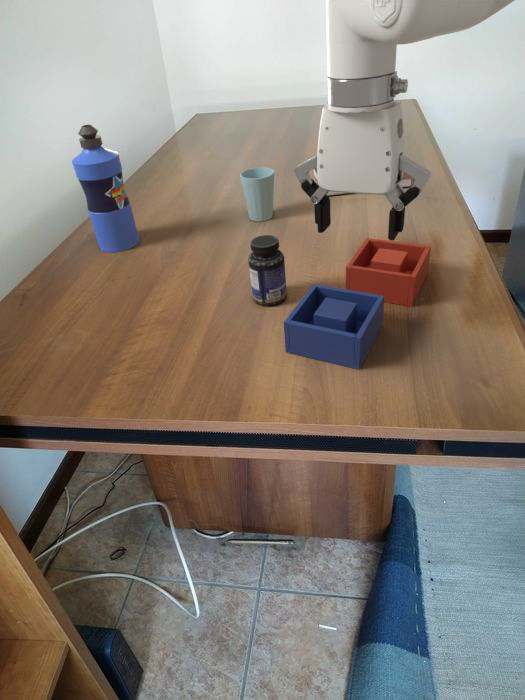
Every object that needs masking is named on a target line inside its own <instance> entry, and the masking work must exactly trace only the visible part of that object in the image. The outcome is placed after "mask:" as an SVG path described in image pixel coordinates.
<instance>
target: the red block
mask: <svg viewBox="0 0 525 700" xmlns="http://www.w3.org/2000/svg"><path fill="white" fill-rule="evenodd" d="M407 255H408V252H404V251H397V250H389V249H382V248H379V250H378V251H377V253H376V254H375V256H374V257H373V259H372V260H371V268H372V269H379V270H386V271H392V272H399V273H405V274H406V265H407Z"/></svg>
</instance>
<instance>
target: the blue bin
mask: <svg viewBox="0 0 525 700" xmlns="http://www.w3.org/2000/svg"><path fill="white" fill-rule="evenodd" d="M325 298H331V299H336V300H342V301H347V302H353V303H357V316H356V331H355V333H349V332H344V331H339V330H335V329H330V328H325V327H320V326H315V325H314V313H315V312H316V311H317V309H318V308H319V306H320V305H321V304H322V302H323V301H324V299H325ZM384 308H385V302H384V296H382V295H376V294H370V293H364V292H359V291H353V290H347V289H345V288H340V287H334V286H329V285H323V284H317V283H313V284H312V285H311V286H310V287H309V289H308V290H307V291H306V293H305V294H304V295H303V297H302V298H301V299H300V300H299V302H298V303H297V304H296V305H295V307H294V308H293V309H292V310H291V312H290V313H289V315H288V316H287V317H286V318H285V320H284V321H283V333H284V347H285V353H288V354H292V355H296V356H299V357H305V358H309V359H313V360H317V361H320V362H326V363H328V364H333V365H338V366H342V367H347V368H351V369H355V370H360V369H361V368H362V366H363V363H364V362H365V360H366V358H367V356H368V354H369V352H370V350H371V349H372V346H373V345H374V343H375V342H376V339H377V337H378V335H379V333H380V331H381V329H382V328H383V323H384V321H383V320H384V311H385V310H384Z"/></svg>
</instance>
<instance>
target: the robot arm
mask: <svg viewBox="0 0 525 700" xmlns="http://www.w3.org/2000/svg"><path fill="white" fill-rule="evenodd" d="M513 2H515V0H325V25H326V26H325V29H326V30H325V33H326V35H325V36H326V37H325V38H326V86H327V88H326V89H327V94H326V95H327V103H326V104H325V105H324V106H322V110H321V116H320V121H319V129H318V138H317V139H318V140H317V153H316V155H314V156H312V157H310V158H309V159H307V160H305V161H303V162H301V163H299V164H298V165H296V166H295V167H294V169H293V172H294V175H295V176H296V178H297V180H298V182H299V183H300V188H301V189H302V191H303V192H304V193H305V194H306V195H307V196H308V197H309V199H310V202H311V204H313V207H314V224H316V225H317V233H319V234H322V233H325V231H326V230H327V229H328V228H329V227H330V226H331V219H332V218H331V217H332V216H331V198H330V196H327V193H328V192H329V191H332V192H343V193H351V194H356V195H357V194H358V195H373V196H374V195H375V196H376V195H377V196H384V197H385V198H386V199H387V201H388V203H390V204H391V206H392V207H391V209H390V210H389V214H388V228H387V229H388V231H387V232H388V233H387V239H388V241H395V240H396V238H397V236H398V234H400V233H402V232H403V230H404V227H405V215H406V207H407V206H408V205H410V203H412V202H413V201H414V200H416V199H417V198H418V197H419V195H420V193H421V192H422V190H423V189H424V187H425V186H426V185H427V183H428V181H429V179H430V178H431V176H432V172H431V170H430V169H427V168H426V167H424V166H422V165H421V164H419V163H417V162H415V161H414V160H412V159H410V158H408V157H407V156H405V129H404V127H405V125H404V114H403V106H402V102H401V101H400V100H395V98H396V96H398V95H400V94H406V93H407V92H408V88H409V80H408V79H407V78H405V79H402V78H401V77H399V75H398V71H397V70H396V68H397V67H396V66H397V48H398V47H397V46H398V45H408V44H415V43H417V42H423V41H426V40H430V39H433V38H436V37H440V36H445V35H449V34H454V33H459V32H463V31H466V30H468V29H471V28H473V27H474V26H477V25H479V24H481V23H483V22H484V21H486V20H487V19H490V17H492V16H493V15H496V14H497V13H498V12H500V11H501V10H503V9H504V8H505V7H507V6H509V5H510V4H512V3H513ZM314 168H317V178H318V181H317V183H316V181H315V180H314V179H313V178H312V177H311V174H310V171H312V170H314ZM403 172H404V173H406V174H407V175H408V176H409V177H410V178H413V180H414V182H413V184H412V186H410V187H409V188H408V189H407V190H406V191H405V189H404V187H403V188H402V187H401V185H400V184H399V182H401V180H402V178H403Z"/></svg>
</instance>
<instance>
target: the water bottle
mask: <svg viewBox="0 0 525 700" xmlns="http://www.w3.org/2000/svg"><path fill="white" fill-rule="evenodd" d="M98 132H99V130H98V129H97V128H96V127H95V126H93V125H92V124H83V125H82V126H81V127H80V129H79V131H78V133H77V135H78V136H80V137H79V138H78V140H79V144H80V148H81V149H82V150H81V152H80V153H79V154H78V155H77V156H75V157H74V158H73V159H72V160H71V163H72V166H73V170H74V173H75V176H76V178H77V180H78V182H79V184H80V186H81V189H82V192H83V193H84V195H85V196H84V197H85V199H86V205H87V213H88V215H89V219H90V222H91V225H92V228H93V232H94V235H95V239H96V242H97V244H98V248H99V250H101V251H102V252H105V253H117V252H118V253H120V252H124V251H128V250H130V249H132V248H133V247H135V246H137V245H138V244H139V242H140V236H139V232H138V228H137V225H136V220H135V217H134V213H133V209H132V205H131V202H130V200H129V197H128V195H127V192H126V190H125V183H124V176H123V166H122V163H121V159H120V158H121V157H120V155H119V152H118V151H115V150H112V149H109V148H106V147H104V146H103V145H104V143H103V139H102V136H101V135H100V134H98Z"/></svg>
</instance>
